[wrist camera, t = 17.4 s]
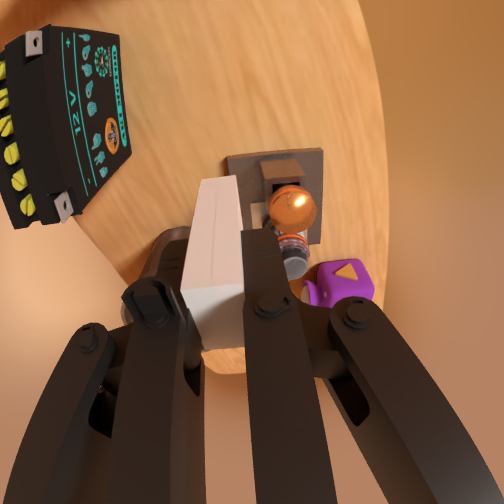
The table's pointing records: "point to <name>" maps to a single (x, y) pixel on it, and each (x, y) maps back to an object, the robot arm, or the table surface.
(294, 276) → the supplement bottle
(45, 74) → the battery
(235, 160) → the base
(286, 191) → the plunger
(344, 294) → the toy camera
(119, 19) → the table surface
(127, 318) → the plant pot
